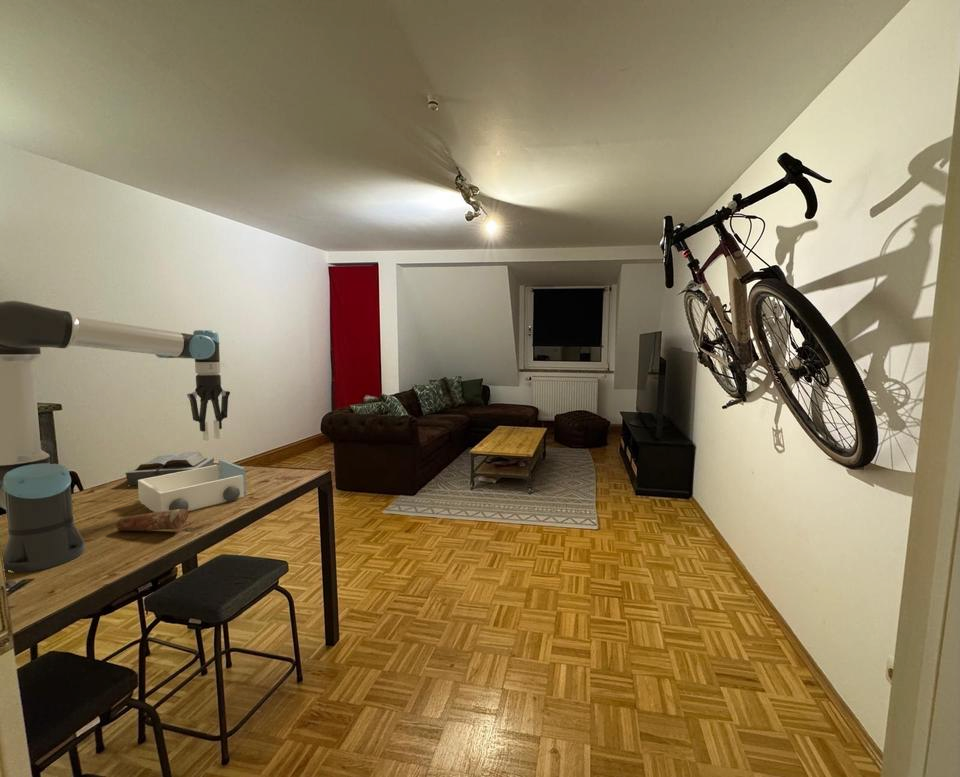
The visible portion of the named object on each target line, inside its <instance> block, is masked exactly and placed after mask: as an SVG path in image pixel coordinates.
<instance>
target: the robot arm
mask: <svg viewBox="0 0 960 777" xmlns="http://www.w3.org/2000/svg"><path fill="white" fill-rule="evenodd" d="M192 332H193V333H183V332H178V331H172V330H166V329H165V330H164V329H158V328H153V327H152V328H151V327H146V326H145V327H144V326H139V325H133V324H125V323H119V322H112V321H106V320H100V319H99V320H98V319H93V318H85V317H81V316H75V315H74V314H73V313H72V312H71V311H66V310H60V309H55V308H51V307H46V306H41V305H37V304H33V303H29V302H23V301H19V300H17V301H16V300H7V301H0V508H2V509H3V510H5V512H6V520H7V529H8V530H7V531H8V538H7V541H6V544H5V546H4V550H3V552H2V555H1V557H2V556H3V563H4V569H5V572H4V573H7V574H9V573H8V570H11V571H13V572H14V573H13V574H26V573H33V572H38V571H43V570H46V569H49V568H53V567H56V566H60V565H63V564H65V563H68V562H70V561H73V560H74V559H76V558H78V557H79V556H81V555H82V554H83V553H84V552H85V550H86V545H85V543H86V542H85V540H84V538H83V536H82V535H81V533H80V531H79V530H78V527H77V526H76V525H75V521H74V512H73V511H74V509H73V498H72V497H73V496H72V487H71V486H72V477H71V475H70V471H69V469H68V467H66V466H65V465H63V464H59V463H51V460H50V454H49V453H47V452H46V451H44V450H43V449H42V446H41V435H40V424H39V421H40V420H39V413H38V412H39V411H38V400H37V399H38V398H37V390H36V389H37V388H36V377H35V376H36V375H35V365H34V362H35V360H37V359H38V358H39V357H41V355H42V353H41V348H54V349H55V348H56V349H64V350H65V349H68V348H70V347H71V346H73V347H81V348H83V347H84V348H93V349H100V350H101V349H102V350H112V351H120V352H129V353H138V354H149V355H155V357H157V358H159V359H193V360H194V364H195V365H194V369H195V370H194V371H195V374H197V375H195V386H196V387H195V390H194V391H193V392H191V393H187V394H186V395H187V398H188V400H189V403H190V409H191V410H190V411H191V414H192V415H191V416H192V420H193V421H195V422H198V423H199V431H200V432H202V439H203V440H204V441H205V442H206V441H207V442H208V441H209V440H210V439H209V438H210V437H209V436H210V435H209V422H208V421H206V418H207V408H208V403H209V401H211V404H212V408H213V412H214V417H215V419H214V420H213V434H214V435H213V438H214V439H216V440H220V439H221V437H220V436H221V435H220V430H222V428H223V426H222V425H223V422H222V421H223V420H225V419H228V411H229V410H228V409H229V396H230V394H231V392H230V391H229V390H224V389H223V388H222V378H221V374H220V373H221V361H220V357H221V356H220V339H219V333H218V332H217V331H216V330H212V329H211V330H205V329H204V330H203V329H198V330H197V329H195V330H193V331H192ZM220 395H221V404H220V403H219V401H220V400H219V397H220ZM197 396H198V397H199V398H200V400H199V401H200V405H199V408H198V401H197ZM220 405H221V407H220ZM203 440H202V441H203Z"/></svg>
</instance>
